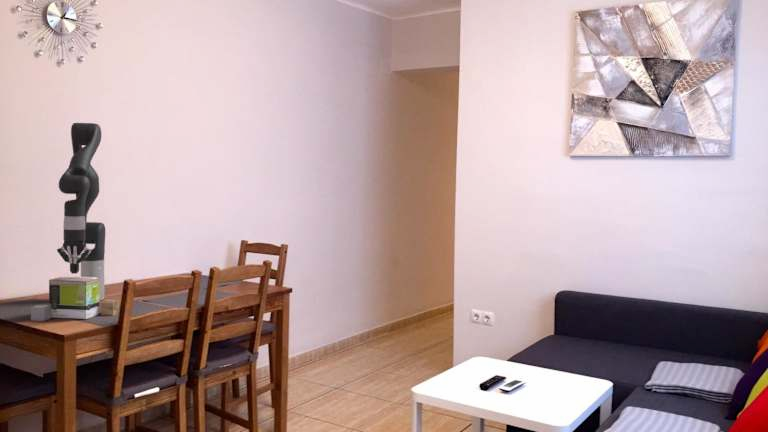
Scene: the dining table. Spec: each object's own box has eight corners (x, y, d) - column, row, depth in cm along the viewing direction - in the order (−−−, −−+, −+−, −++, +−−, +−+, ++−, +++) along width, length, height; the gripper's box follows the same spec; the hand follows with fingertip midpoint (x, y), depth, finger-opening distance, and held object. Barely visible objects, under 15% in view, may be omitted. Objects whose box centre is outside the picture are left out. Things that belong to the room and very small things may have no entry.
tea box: (100, 314, 255) (100, 276, 254) (86, 320, 245) (85, 281, 244) (63, 312, 256) (63, 274, 255) (48, 317, 246) (48, 278, 245)
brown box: (106, 312, 259) (106, 299, 258) (119, 312, 258) (119, 300, 258) (100, 315, 254) (100, 302, 253) (113, 315, 253) (113, 302, 253)
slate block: (38, 317, 246) (38, 304, 246) (51, 318, 246) (51, 304, 246) (30, 320, 241) (30, 306, 241) (44, 321, 241) (44, 307, 241)
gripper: (96, 227, 252) (96, 272, 253) (62, 226, 252) (62, 271, 253) (86, 229, 244) (86, 275, 245) (52, 228, 245) (52, 274, 246)
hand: (74, 273), depth 249 cm, fingers closed
